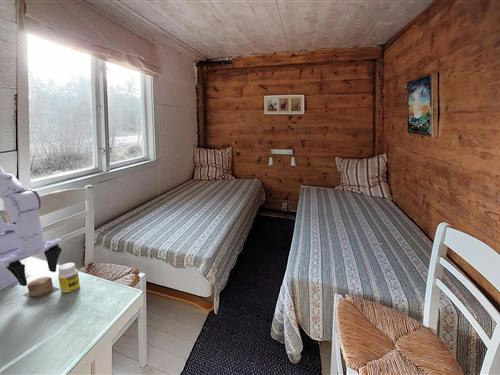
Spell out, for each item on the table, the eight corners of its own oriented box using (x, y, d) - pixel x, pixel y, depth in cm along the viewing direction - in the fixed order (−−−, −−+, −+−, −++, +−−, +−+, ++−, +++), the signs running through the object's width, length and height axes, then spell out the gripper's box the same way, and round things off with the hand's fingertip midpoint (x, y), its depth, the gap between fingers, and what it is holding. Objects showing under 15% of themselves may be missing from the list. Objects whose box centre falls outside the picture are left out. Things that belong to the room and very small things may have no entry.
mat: (23, 296, 77) (22, 294, 76) (45, 285, 82) (45, 283, 82) (38, 302, 74) (37, 300, 74) (60, 290, 79) (59, 289, 79)
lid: (25, 295, 76) (22, 285, 76) (46, 284, 81) (44, 275, 81) (37, 299, 74) (34, 289, 73) (57, 288, 79) (55, 279, 79)
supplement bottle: (71, 297, 76) (66, 271, 74) (57, 295, 77) (52, 269, 75) (84, 287, 81) (80, 262, 79) (71, 285, 82) (66, 261, 80)
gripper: (5, 247, 66) (17, 295, 69) (65, 226, 79) (72, 268, 82) (-10, 242, 68) (2, 289, 71) (50, 223, 81) (58, 264, 84)
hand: (38, 277), depth 77 cm, fingers open, 7 cm apart
